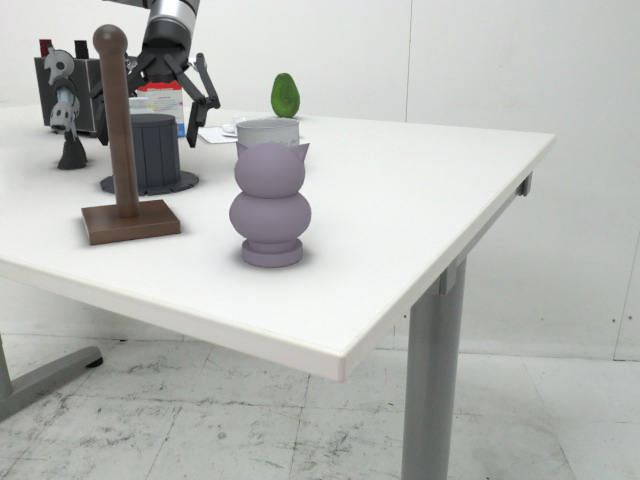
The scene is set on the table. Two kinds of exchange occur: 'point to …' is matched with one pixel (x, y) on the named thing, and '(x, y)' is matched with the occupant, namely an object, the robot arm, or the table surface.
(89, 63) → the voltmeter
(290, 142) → the teacup
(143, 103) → the supplement bottle
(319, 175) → the table surface
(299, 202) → the cat figurine
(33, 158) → the table surface
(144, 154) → the hat
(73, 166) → the robot
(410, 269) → the table surface
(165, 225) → the stand
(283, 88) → the fruit
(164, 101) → the ink box
